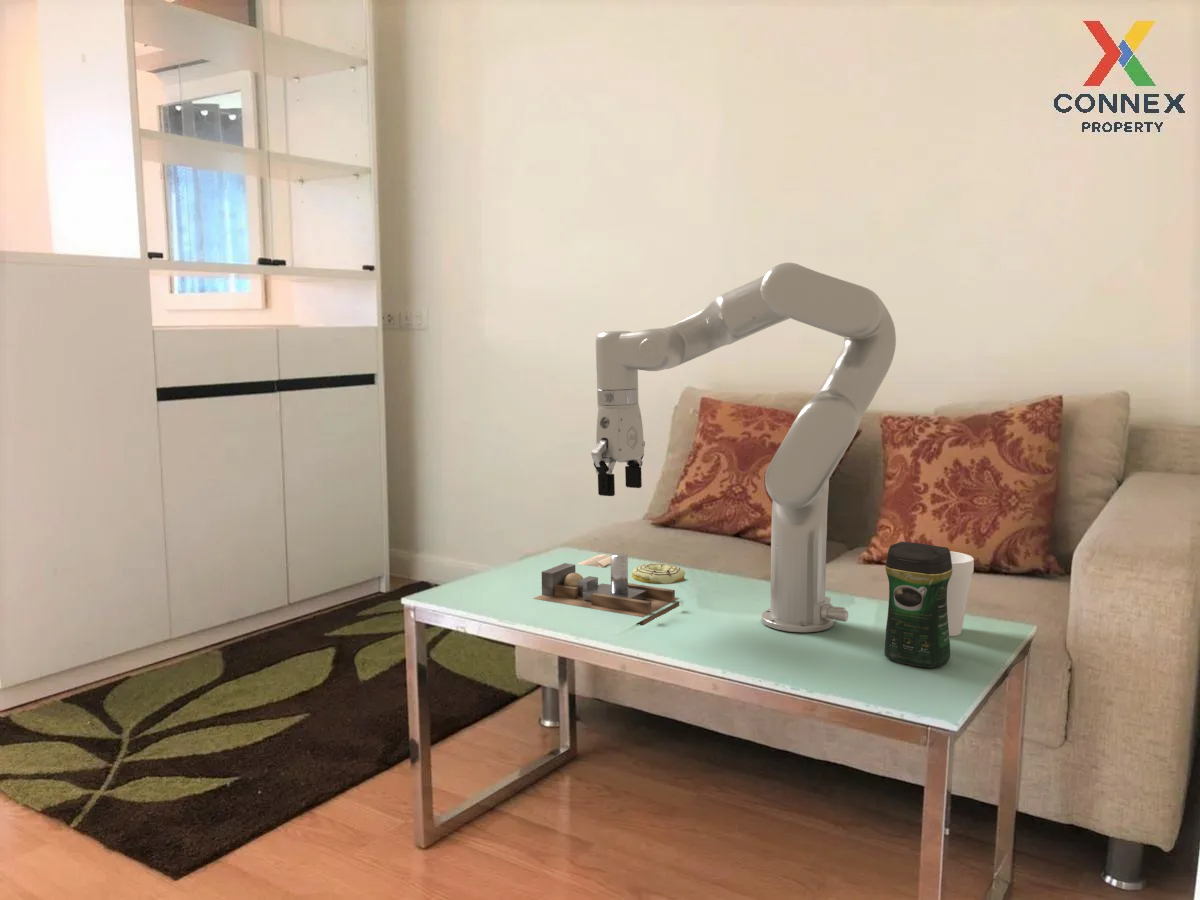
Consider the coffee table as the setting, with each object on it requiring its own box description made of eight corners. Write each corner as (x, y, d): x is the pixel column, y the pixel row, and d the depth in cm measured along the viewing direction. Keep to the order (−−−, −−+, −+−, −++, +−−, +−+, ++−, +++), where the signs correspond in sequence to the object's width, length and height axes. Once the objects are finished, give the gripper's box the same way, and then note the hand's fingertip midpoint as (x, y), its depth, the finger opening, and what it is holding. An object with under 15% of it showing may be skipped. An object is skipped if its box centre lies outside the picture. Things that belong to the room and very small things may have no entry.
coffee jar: (956, 659, 154) (960, 543, 151) (936, 673, 148) (940, 553, 145) (897, 646, 160) (901, 535, 158) (876, 659, 154) (879, 544, 152)
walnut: (588, 592, 190) (588, 571, 189) (577, 597, 186) (576, 576, 186) (571, 589, 192) (571, 569, 191) (559, 594, 188) (559, 573, 188)
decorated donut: (674, 594, 194) (674, 575, 193) (624, 588, 198) (624, 570, 198) (691, 581, 203) (691, 563, 203) (643, 576, 208) (643, 559, 207)
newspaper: (596, 560, 224) (596, 553, 224) (623, 564, 221) (623, 556, 220) (539, 584, 204) (538, 576, 204) (567, 589, 200) (567, 580, 200)
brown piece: (679, 605, 185) (679, 574, 184) (643, 625, 173) (642, 592, 172) (573, 589, 197) (573, 560, 197) (532, 606, 186) (532, 575, 185)
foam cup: (901, 626, 171) (903, 553, 169) (944, 619, 174) (946, 548, 173) (938, 642, 162) (941, 565, 161) (982, 635, 165) (985, 560, 164)
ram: (647, 597, 184) (646, 553, 183) (628, 606, 179) (628, 561, 177) (593, 589, 191) (592, 546, 189) (574, 597, 185) (573, 553, 184)
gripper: (610, 402, 169) (613, 500, 172) (658, 395, 184) (660, 485, 186) (574, 402, 173) (577, 497, 175) (624, 395, 188) (626, 483, 190)
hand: (620, 491), depth 181 cm, fingers open, 9 cm apart
